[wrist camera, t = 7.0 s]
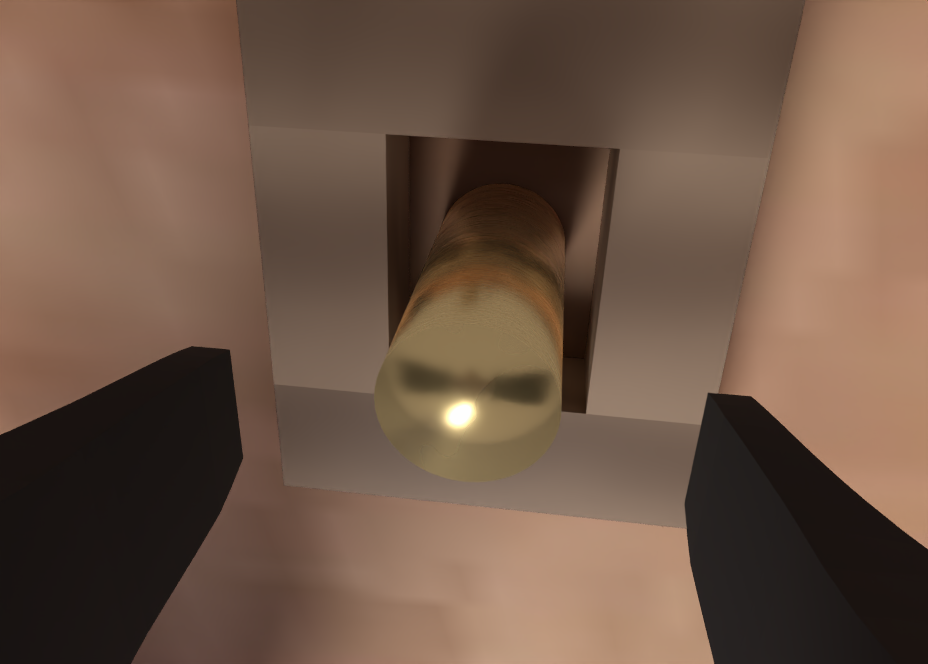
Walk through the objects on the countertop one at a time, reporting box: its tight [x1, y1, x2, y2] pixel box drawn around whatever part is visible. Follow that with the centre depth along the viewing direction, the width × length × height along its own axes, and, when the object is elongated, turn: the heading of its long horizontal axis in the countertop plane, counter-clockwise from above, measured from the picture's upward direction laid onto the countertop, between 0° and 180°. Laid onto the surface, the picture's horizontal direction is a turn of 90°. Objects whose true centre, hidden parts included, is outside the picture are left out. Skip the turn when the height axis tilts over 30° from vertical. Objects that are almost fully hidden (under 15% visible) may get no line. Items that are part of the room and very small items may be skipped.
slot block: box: [236, 0, 805, 529], centre depth 17 cm, size 12×10×2 cm
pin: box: [374, 184, 565, 482], centre depth 15 cm, size 3×3×7 cm
